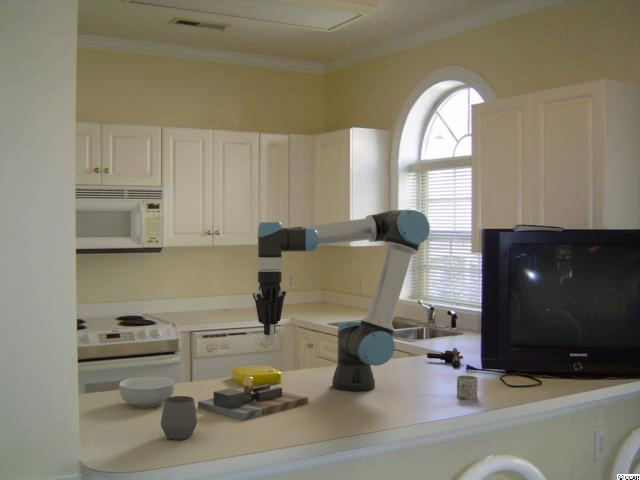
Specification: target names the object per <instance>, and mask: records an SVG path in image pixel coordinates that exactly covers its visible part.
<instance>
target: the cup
mask: <svg viewBox="0 0 640 480" xmlns="http://www.w3.org/2000/svg"><path fill="white" fill-rule="evenodd" d="M197 424H198V418H197V411H196V404H195V398H194V397H191V396H186V395H175V396H171V397H168V398H166V399H165V401H164V402H163V408H162V412H161V420H160V426H161V429H162V431H163V433H164V435H165V436H166V438H167V439H170V440H172V441H173V440H174V441H175V440H176V441H177V440H178V441H181V440H186V439H189V438H191V436H192V435H193V433H194V431H195V429H196V427H197Z"/></svg>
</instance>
